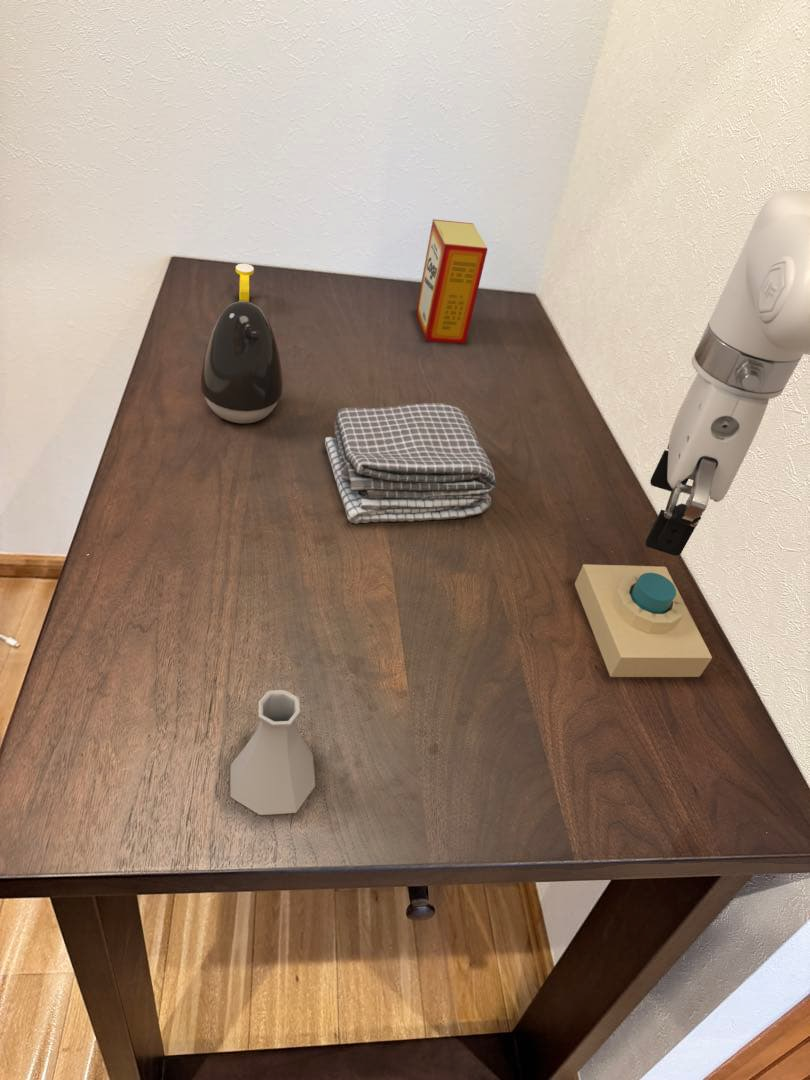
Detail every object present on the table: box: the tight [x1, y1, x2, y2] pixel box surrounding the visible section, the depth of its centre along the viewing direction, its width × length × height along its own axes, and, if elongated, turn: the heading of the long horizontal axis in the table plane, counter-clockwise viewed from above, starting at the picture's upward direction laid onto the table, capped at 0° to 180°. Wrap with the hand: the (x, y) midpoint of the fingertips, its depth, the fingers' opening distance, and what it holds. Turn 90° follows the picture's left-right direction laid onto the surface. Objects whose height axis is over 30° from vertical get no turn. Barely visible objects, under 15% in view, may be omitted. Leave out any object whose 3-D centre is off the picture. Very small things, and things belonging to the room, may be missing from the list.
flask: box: [229, 689, 316, 816], centre depth 62 cm, size 7×7×10 cm
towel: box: [324, 402, 498, 525], centre depth 94 cm, size 15×18×8 cm
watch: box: [235, 263, 255, 302], centre depth 122 cm, size 6×3×6 cm, turn 9°
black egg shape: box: [200, 300, 284, 424], centre depth 97 cm, size 10×10×15 cm
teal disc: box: [631, 573, 676, 614], centre depth 81 cm, size 4×4×2 cm
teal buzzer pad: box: [574, 563, 713, 678], centre depth 83 cm, size 13×10×5 cm
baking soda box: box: [415, 218, 488, 344], centre depth 124 cm, size 10×6×16 cm
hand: (663, 517), depth 74 cm, fingers open, 9 cm apart
